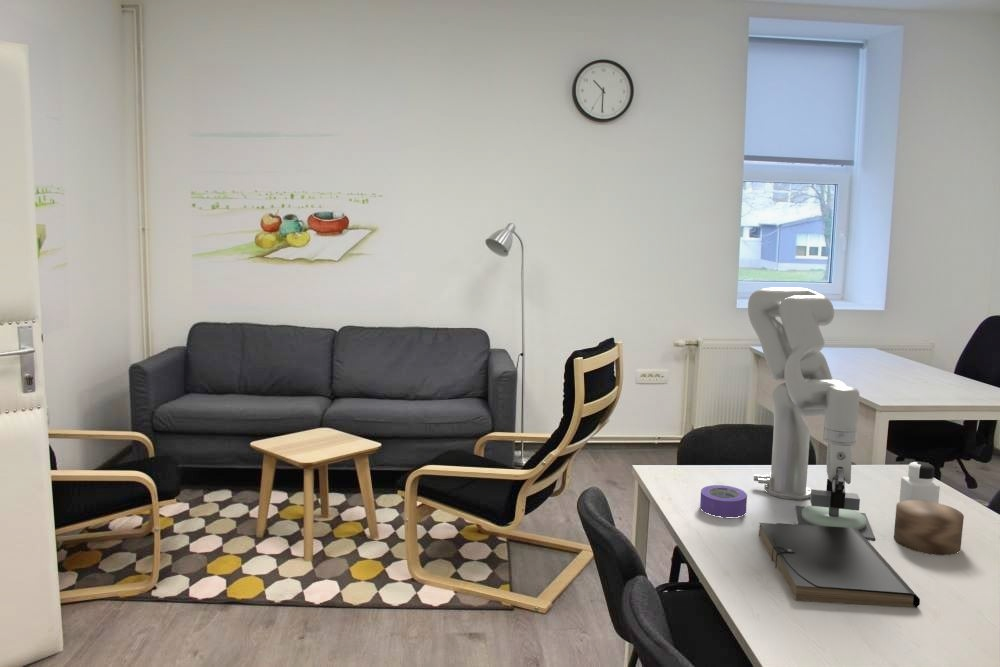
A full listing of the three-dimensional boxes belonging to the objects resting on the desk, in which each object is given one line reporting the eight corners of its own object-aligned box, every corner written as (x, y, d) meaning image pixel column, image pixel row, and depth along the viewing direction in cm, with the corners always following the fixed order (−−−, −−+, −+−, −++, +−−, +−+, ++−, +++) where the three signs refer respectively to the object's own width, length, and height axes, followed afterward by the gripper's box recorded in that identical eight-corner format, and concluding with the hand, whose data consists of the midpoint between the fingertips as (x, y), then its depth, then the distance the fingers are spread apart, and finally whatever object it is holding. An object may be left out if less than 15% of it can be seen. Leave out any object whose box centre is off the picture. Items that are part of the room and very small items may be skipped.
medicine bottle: (926, 502, 210) (930, 460, 209) (938, 512, 203) (942, 468, 202) (898, 501, 211) (902, 459, 209) (909, 510, 204) (913, 467, 202)
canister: (899, 550, 179) (902, 517, 178) (889, 528, 192) (891, 497, 191) (967, 558, 175) (971, 525, 174) (952, 535, 188) (955, 504, 187)
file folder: (758, 520, 187) (861, 527, 184) (756, 536, 187) (859, 543, 185) (794, 583, 154) (921, 592, 152) (793, 602, 155) (918, 612, 152)
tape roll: (729, 522, 195) (730, 503, 195) (691, 509, 204) (691, 491, 203) (754, 511, 203) (755, 493, 202) (716, 499, 212) (717, 481, 211)
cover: (870, 535, 186) (872, 507, 185) (803, 527, 190) (805, 500, 189) (861, 513, 200) (863, 487, 199) (799, 507, 205) (801, 481, 204)
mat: (799, 531, 190) (799, 529, 190) (795, 507, 206) (795, 505, 206) (875, 540, 185) (875, 538, 185) (865, 515, 201) (865, 513, 201)
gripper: (860, 446, 183) (855, 515, 185) (851, 428, 199) (847, 491, 201) (826, 443, 185) (821, 511, 187) (820, 425, 201) (816, 488, 204)
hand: (834, 500), depth 194 cm, fingers open, 9 cm apart
